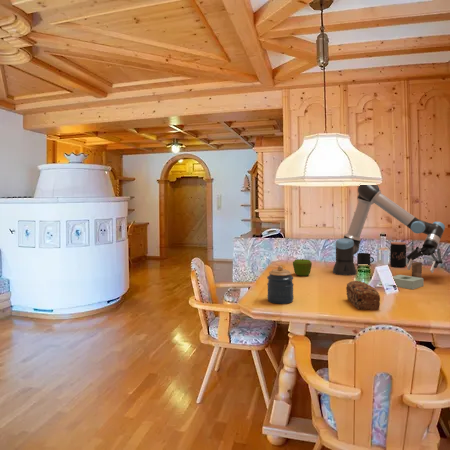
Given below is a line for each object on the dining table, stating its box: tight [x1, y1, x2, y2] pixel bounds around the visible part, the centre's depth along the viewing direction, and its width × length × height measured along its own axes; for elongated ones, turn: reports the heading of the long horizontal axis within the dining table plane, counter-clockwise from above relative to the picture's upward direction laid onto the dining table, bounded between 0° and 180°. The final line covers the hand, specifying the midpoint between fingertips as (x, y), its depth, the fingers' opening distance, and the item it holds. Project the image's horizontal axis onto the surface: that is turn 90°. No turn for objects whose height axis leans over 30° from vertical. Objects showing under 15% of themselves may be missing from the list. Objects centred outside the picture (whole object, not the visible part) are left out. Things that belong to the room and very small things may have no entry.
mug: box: [356, 252, 375, 266], centre depth 273 cm, size 9×12×9 cm
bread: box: [345, 280, 381, 311], centre depth 170 cm, size 19×11×10 cm, turn 176°
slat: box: [411, 261, 423, 278], centre depth 214 cm, size 3×6×12 cm, turn 126°
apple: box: [292, 258, 313, 277], centre depth 240 cm, size 12×12×11 cm
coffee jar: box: [389, 241, 407, 269], centre depth 267 cm, size 11×11×18 cm
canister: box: [266, 265, 294, 305], centre depth 178 cm, size 13×13×18 cm
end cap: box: [393, 274, 425, 290], centre depth 207 cm, size 14×13×4 cm
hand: (419, 269), depth 214 cm, fingers open, 13 cm apart
